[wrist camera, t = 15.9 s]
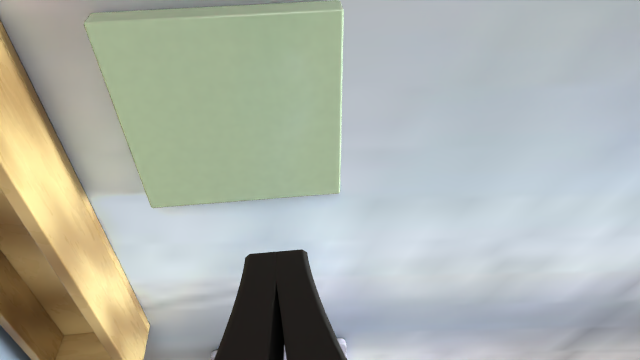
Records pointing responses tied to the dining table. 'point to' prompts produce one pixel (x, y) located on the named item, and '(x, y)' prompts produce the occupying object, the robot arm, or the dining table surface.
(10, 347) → the blue coaster
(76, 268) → the coaster basket
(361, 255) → the dining table surface
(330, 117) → the sage coaster
